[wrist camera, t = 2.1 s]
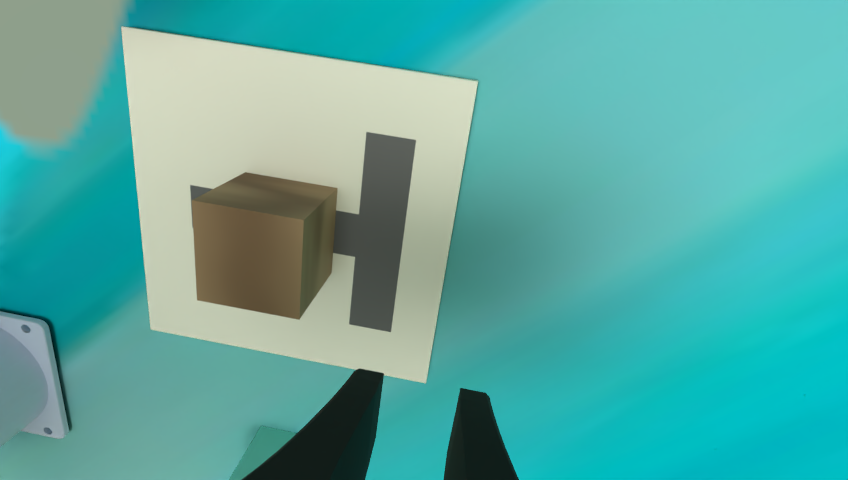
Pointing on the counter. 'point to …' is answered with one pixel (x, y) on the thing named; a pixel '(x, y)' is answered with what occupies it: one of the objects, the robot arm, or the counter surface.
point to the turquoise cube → (261, 450)
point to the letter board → (311, 163)
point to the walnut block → (264, 243)
